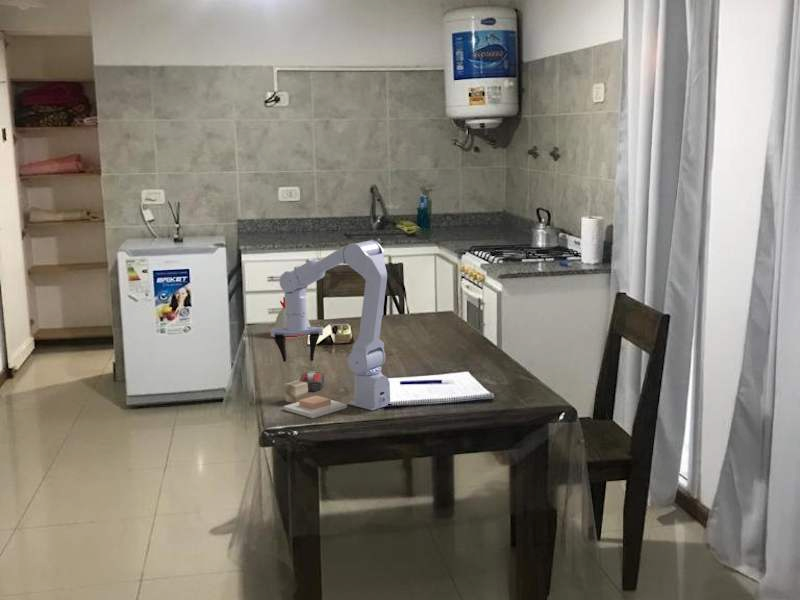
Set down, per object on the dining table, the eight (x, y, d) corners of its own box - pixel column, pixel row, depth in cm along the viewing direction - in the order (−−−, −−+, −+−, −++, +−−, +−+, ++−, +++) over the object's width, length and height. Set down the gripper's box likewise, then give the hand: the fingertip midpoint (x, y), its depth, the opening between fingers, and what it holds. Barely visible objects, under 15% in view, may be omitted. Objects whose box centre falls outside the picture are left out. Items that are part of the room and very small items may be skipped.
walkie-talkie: (295, 381, 279) (289, 400, 259) (294, 367, 278) (288, 384, 259) (325, 380, 279) (320, 399, 259) (324, 366, 278) (320, 383, 259)
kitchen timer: (269, 334, 347) (267, 294, 344) (304, 330, 352) (302, 291, 350) (280, 341, 334) (278, 300, 332) (316, 337, 340) (315, 296, 337)
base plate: (347, 407, 249) (346, 398, 248) (312, 418, 240) (312, 408, 240) (317, 399, 257) (317, 391, 257) (283, 409, 249) (283, 400, 248)
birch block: (308, 400, 257) (307, 383, 256) (296, 404, 254) (295, 386, 253) (298, 397, 260) (297, 380, 259) (285, 401, 257) (285, 383, 256)
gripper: (323, 309, 264) (325, 356, 266) (272, 311, 264) (274, 357, 266) (320, 314, 257) (323, 362, 259) (268, 315, 257) (271, 363, 260)
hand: (298, 360), depth 262 cm, fingers open, 7 cm apart
